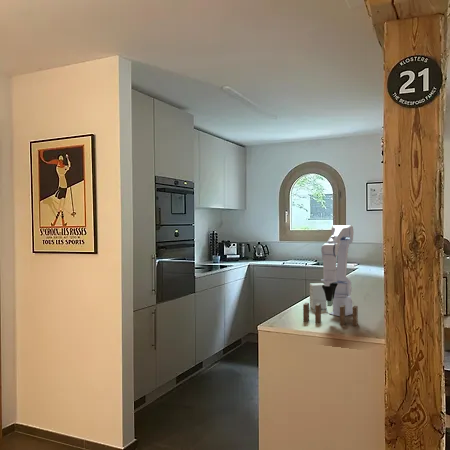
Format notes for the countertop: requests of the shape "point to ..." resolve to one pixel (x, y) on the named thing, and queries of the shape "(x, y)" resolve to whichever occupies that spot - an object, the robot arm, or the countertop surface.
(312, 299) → the supplement box
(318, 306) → the domino
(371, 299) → the countertop surface
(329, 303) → the domino
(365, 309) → the countertop surface
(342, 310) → the domino
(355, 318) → the brown flat rectangular block
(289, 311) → the countertop surface
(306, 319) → the domino
